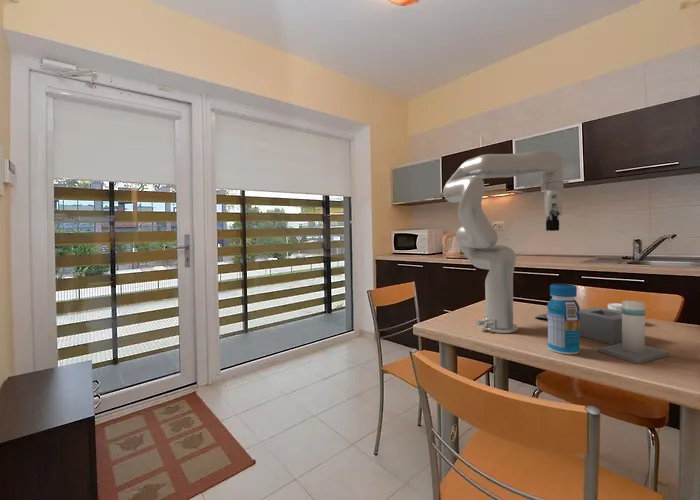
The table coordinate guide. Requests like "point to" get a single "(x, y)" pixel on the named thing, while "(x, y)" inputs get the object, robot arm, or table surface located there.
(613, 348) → the rubber mat
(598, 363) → the table surface
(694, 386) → the table surface
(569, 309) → the beverage bottle
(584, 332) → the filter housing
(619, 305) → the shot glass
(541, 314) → the soupspoon
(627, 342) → the cylinder
